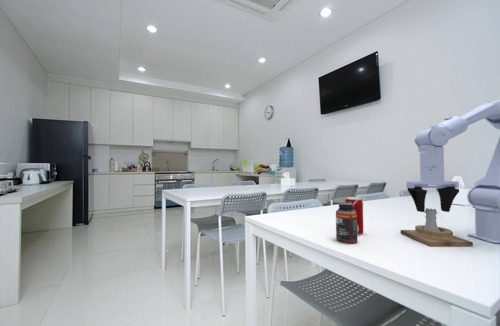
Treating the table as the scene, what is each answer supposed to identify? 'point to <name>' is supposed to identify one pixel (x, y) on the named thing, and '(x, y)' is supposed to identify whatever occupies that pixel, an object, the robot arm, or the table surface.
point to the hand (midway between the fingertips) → (432, 211)
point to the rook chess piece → (431, 220)
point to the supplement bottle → (346, 223)
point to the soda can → (359, 210)
